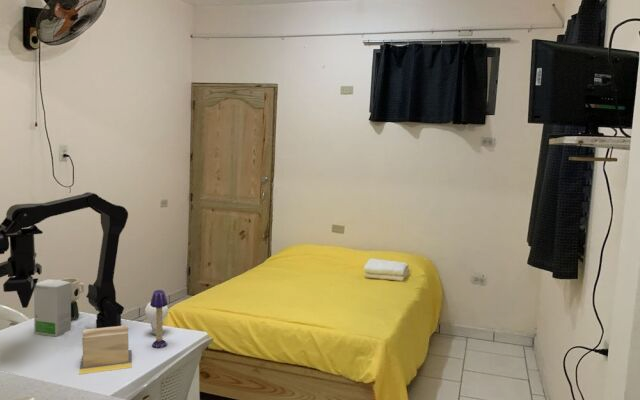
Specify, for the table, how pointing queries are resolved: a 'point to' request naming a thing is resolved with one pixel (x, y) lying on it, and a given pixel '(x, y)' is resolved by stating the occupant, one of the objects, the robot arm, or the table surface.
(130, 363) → the gray board
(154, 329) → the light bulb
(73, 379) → the table surface
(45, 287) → the skincare box
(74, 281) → the character mug
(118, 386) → the table surface
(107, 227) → the robot arm
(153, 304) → the toy lamp
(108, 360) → the pine block
